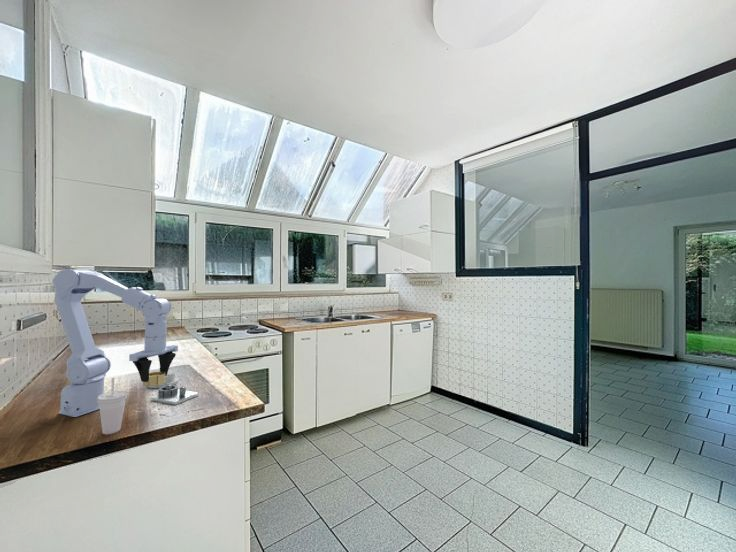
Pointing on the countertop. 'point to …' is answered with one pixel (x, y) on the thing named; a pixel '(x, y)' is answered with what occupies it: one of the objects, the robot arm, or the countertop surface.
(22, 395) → the countertop surface
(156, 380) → the brass ring
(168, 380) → the mechanical component
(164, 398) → the piston block
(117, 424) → the smoothie
